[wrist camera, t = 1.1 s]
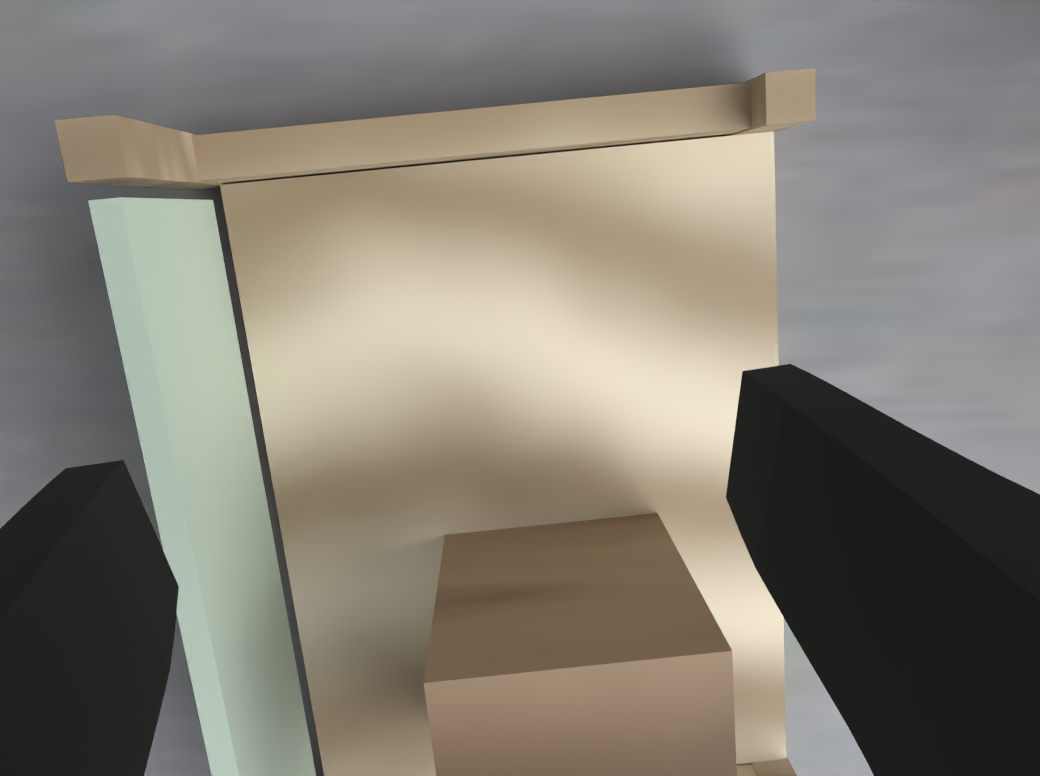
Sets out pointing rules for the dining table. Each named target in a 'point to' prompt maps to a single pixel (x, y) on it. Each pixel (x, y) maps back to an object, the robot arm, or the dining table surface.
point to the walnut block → (576, 656)
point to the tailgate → (205, 478)
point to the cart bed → (493, 357)
